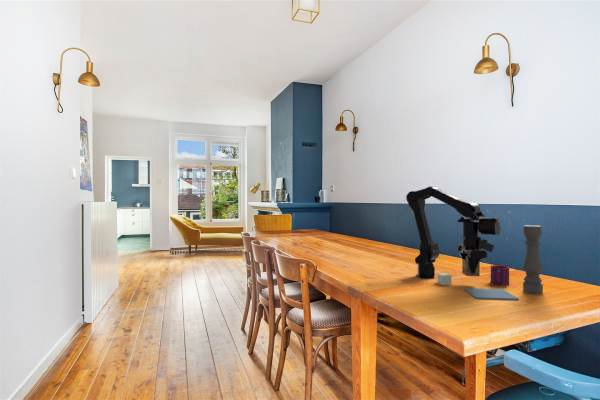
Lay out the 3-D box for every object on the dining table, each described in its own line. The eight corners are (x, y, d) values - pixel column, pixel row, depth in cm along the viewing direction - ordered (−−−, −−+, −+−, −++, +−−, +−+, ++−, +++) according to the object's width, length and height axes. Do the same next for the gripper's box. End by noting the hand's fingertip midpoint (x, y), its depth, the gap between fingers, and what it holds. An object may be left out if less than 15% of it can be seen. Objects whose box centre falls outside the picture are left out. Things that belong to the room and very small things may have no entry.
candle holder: (539, 290, 130) (539, 225, 130) (545, 295, 124) (545, 226, 124) (520, 289, 132) (520, 225, 132) (525, 293, 126) (525, 226, 126)
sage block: (441, 285, 140) (441, 275, 140) (437, 282, 144) (437, 273, 144) (451, 285, 140) (451, 275, 140) (446, 282, 144) (446, 273, 144)
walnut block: (466, 276, 137) (466, 261, 137) (462, 273, 142) (462, 258, 142) (479, 276, 136) (479, 261, 136) (475, 273, 141) (475, 259, 141)
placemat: (475, 298, 120) (475, 297, 120) (464, 289, 132) (464, 288, 132) (518, 300, 118) (518, 298, 118) (503, 290, 130) (503, 289, 130)
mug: (510, 282, 142) (510, 266, 142) (505, 287, 135) (505, 270, 135) (493, 280, 147) (492, 264, 147) (486, 284, 139) (486, 268, 139)
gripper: (501, 236, 129) (502, 277, 129) (482, 231, 147) (482, 267, 147) (470, 236, 130) (470, 276, 130) (455, 231, 149) (455, 266, 149)
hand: (470, 271), depth 139 cm, fingers closed on walnut block, 5 cm apart
